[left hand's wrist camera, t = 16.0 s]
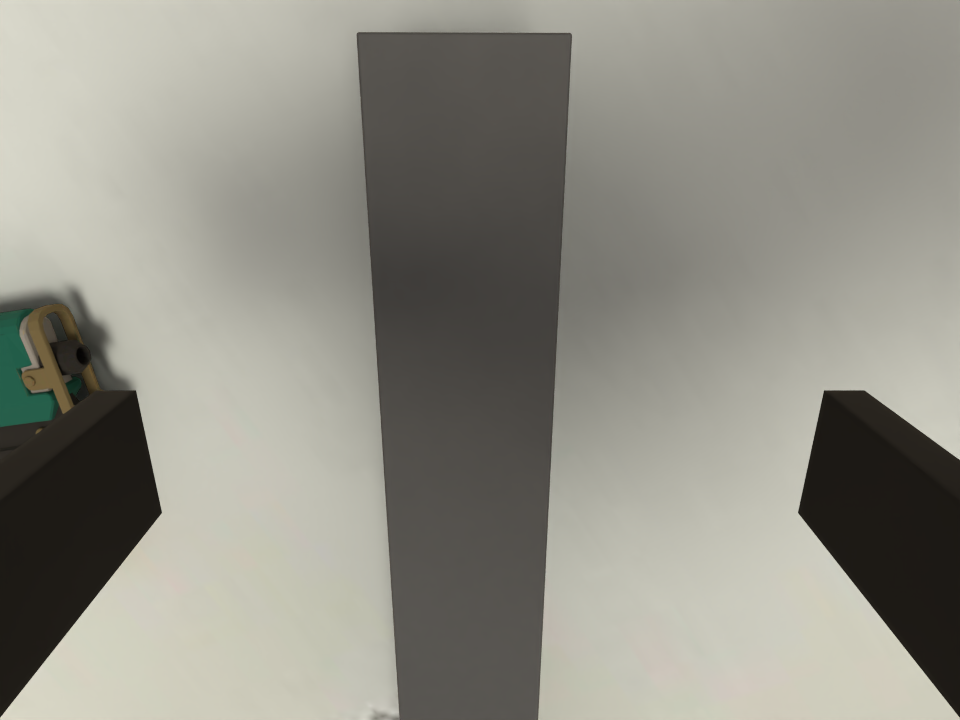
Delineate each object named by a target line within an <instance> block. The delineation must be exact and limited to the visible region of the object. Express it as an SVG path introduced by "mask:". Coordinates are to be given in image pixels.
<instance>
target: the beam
mask: <svg viewBox="0 0 960 720" xmlns="http://www.w3.org/2000/svg"><path fill="white" fill-rule="evenodd" d="M571 43H572V35H571V33H408V32H358V33H357V48H358V64H359V80H360V96H361V112H362V128H363V143H364V159H365V175H366V191H367V207H368V223H369V239H370V255H371V271H372V286H373V302H374V318H375V334H376V350H377V366H378V382H379V398H380V413H381V429H382V445H383V461H384V477H385V493H386V509H387V525H388V541H389V556H390V572H391V588H392V604H393V620H394V636H395V652H396V668H397V684H398V699H399V715H400V720H538V709H539V689H540V669H541V648H542V628H543V608H544V588H545V568H546V548H547V527H548V507H549V487H550V467H551V447H552V426H553V406H554V386H555V366H556V346H557V326H558V305H559V285H560V265H561V245H562V225H563V204H564V184H565V164H566V144H567V124H568V103H569V83H570V63H571Z"/></svg>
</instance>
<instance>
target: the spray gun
mask: <svg viewBox="0 0 960 720" xmlns="http://www.w3.org/2000/svg"><path fill="white" fill-rule="evenodd" d="M52 312H54V313H55V314H57V315H58V317H59V319H60V320H61V323H62V325H63V328H64V331H65V333H66V336H67V338H68V340H67V341H60V342H58V340H57V337H56V334H55V332H54V329H53V326H52V324H51V321H50V320H49V319H48V318H47V317H45V316H46V315H47V314H49V313H52ZM90 360H91V355H90V351H89V349H88V348H87V347H86V346H85V345H84V344H83V342H82V339H81V336H80V334H79V331H78V328H77V326H76V323H75V320H74V318H73V315H72V314H71V312H70V310H69V309H68V308H67V307H66V306H64V305H63V304H52V305H45V306H43V307H40V308H37V309H35V310H34V309H23V310H16V311H10V312H3V313H0V460H1V459H3V458H4V457H5V456H7V455H8V454H9V453H11V452H12V451H14V450H15V449H16V448H18V447H19V446H20V445H22V444H23V443H24V442H26V441H27V440H29V439H30V438H31V437H33V436H34V435H35V434H37V433H38V432H40V431H41V430H42V429H44V428H45V427H46V426H48V425H49V424H51V423H52V422H53V421H55V420H56V419H57V418H59V417H60V416H61V415H63V414H64V413H66V412H67V411H68V410H70V409H71V408H72V407H74V406H75V405H77V404H78V403H79V402H80V401H78V400H77V398H76V397H75V396H76V395H77V393H78V391H79V389H80V388H81V384H82V383H81V380H80V379H79V378H77V377H71V374H77V373H81V374H82V377H83V379H84V382H85V384H86V387H87V390H88V392H89V395H90V394H92V393H93V392H94V391H104V390H102V389H100V387H99V384H98V381H97V379H96V376H95V373H94V371H93V368H92V365H91V363H90Z"/></svg>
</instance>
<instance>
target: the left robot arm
mask: <svg viewBox="0 0 960 720" xmlns="http://www.w3.org/2000/svg"><path fill="white" fill-rule="evenodd" d="M161 513H162V511H161V506H160V502H159V497H158V492H157V488H156V483H155V478H154V473H153V469H152V464H151V459H150V455H149V450H148V445H147V441H146V436H145V431H144V427H143V422H142V417H141V413H140V408H139V403H138V398H137V394H136V391H94V392H93V393H92V394H90V395H89V396H88V397H86V398H85V399H83V400H82V401H81V402H79V403H78V404H77V405H75V406H74V407H72V408H71V409H70V410H68V411H67V412H66V413H64V414H63V415H61V416H60V417H59V418H57V419H56V420H55V421H53V422H52V423H51V424H49V425H48V426H46V427H45V428H44V429H42V430H41V431H40V432H38V433H37V434H35V435H34V436H33V437H31V438H30V439H29V440H27V441H26V442H24V443H23V444H22V445H20V446H19V447H18V448H16V449H15V450H14V451H12V452H11V453H9V454H8V455H7V456H5V457H4V458H3V459H1V460H0V717H1V716H2V715H3V713H4V712H5V711H6V709H7V708H8V707H9V706H10V704H11V703H12V702H13V701H14V699H15V698H16V697H17V696H18V694H19V693H20V692H21V690H22V689H23V688H24V687H25V685H26V684H27V683H28V682H29V680H30V679H31V678H32V677H33V675H34V674H35V673H36V671H37V670H38V669H39V668H40V666H41V665H42V664H43V663H44V661H45V660H46V659H47V658H48V656H49V655H50V654H51V653H52V651H53V650H54V649H55V647H56V646H57V645H58V644H59V642H60V641H61V640H62V639H63V637H64V636H65V635H66V634H67V632H68V631H69V630H70V628H71V627H72V626H73V625H74V623H75V622H76V621H77V620H78V618H79V617H80V616H81V615H82V613H83V612H84V611H85V609H86V608H87V607H88V606H89V604H90V603H91V602H92V601H93V599H94V598H95V597H96V596H97V594H98V593H99V592H100V590H101V589H102V588H103V587H104V585H105V584H106V583H107V582H108V580H109V579H110V578H111V577H112V575H113V574H114V573H115V571H116V570H117V569H118V568H119V566H120V565H121V564H122V563H123V561H124V560H125V559H126V558H127V556H128V555H129V554H130V552H131V551H132V550H133V549H134V547H135V546H136V545H137V544H138V542H139V541H140V540H141V539H142V537H143V536H144V535H145V534H146V532H147V531H148V530H149V528H150V527H151V526H152V525H153V523H154V522H155V521H156V520H157V518H158V517H159V516H160V515H161ZM798 513H799V515H800V516H801V517H802V518H803V520H804V521H805V522H806V523H807V525H808V526H809V527H810V528H811V530H812V531H813V532H814V534H815V535H816V536H817V537H818V539H819V540H820V541H821V542H822V544H823V545H824V546H825V547H826V549H827V550H828V551H829V552H830V554H831V555H832V556H833V558H834V559H835V560H836V561H837V563H838V564H839V565H840V566H841V568H842V569H843V570H844V571H845V573H846V574H847V575H848V577H849V578H850V579H851V580H852V582H853V583H854V584H855V585H856V587H857V588H858V589H859V590H860V592H861V593H862V594H863V596H864V597H865V598H866V599H867V601H868V602H869V603H870V604H871V606H872V607H873V608H874V609H875V611H876V612H877V613H878V615H879V616H880V617H881V618H882V620H883V621H884V622H885V623H886V625H887V626H888V627H889V628H890V630H891V631H892V632H893V634H894V635H895V636H896V637H897V639H898V640H899V641H900V642H901V644H902V645H903V646H904V647H905V649H906V650H907V651H908V653H909V654H910V655H911V656H912V658H913V659H914V660H915V661H916V663H917V664H918V665H919V666H920V668H921V669H922V670H923V671H924V673H925V674H926V675H927V677H928V678H929V679H930V680H931V682H932V683H933V684H934V685H935V687H936V688H937V689H938V690H939V692H940V693H941V694H942V696H943V697H944V698H945V699H946V701H947V702H948V703H949V704H950V706H951V707H952V708H953V709H954V711H955V712H956V713H957V715H958V716H959V717H960V460H959V459H957V458H956V457H955V456H953V455H952V454H951V453H949V452H948V451H946V450H945V449H944V448H942V447H941V446H940V445H938V444H937V443H936V442H934V441H933V440H931V439H930V438H929V437H927V436H926V435H925V434H923V433H922V432H920V431H919V430H918V429H916V428H915V427H914V426H912V425H911V424H909V423H908V422H907V421H905V420H904V419H903V418H901V417H900V416H899V415H897V414H896V413H894V412H893V411H892V410H890V409H889V408H888V407H886V406H885V405H883V404H882V403H881V402H879V401H878V400H877V399H875V398H874V397H872V396H871V395H870V394H868V393H867V392H866V391H824V394H823V398H822V403H821V408H820V413H819V417H818V422H817V427H816V431H815V436H814V441H813V445H812V450H811V455H810V459H809V464H808V469H807V473H806V478H805V483H804V488H803V492H802V497H801V502H800V506H799V511H798Z"/></svg>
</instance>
